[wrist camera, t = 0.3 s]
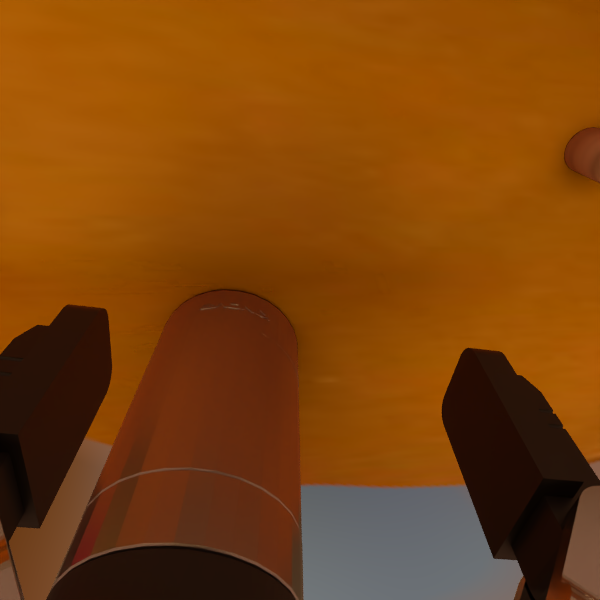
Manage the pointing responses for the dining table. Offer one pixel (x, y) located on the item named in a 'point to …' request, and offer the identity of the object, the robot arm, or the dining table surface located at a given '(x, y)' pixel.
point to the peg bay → (585, 153)
